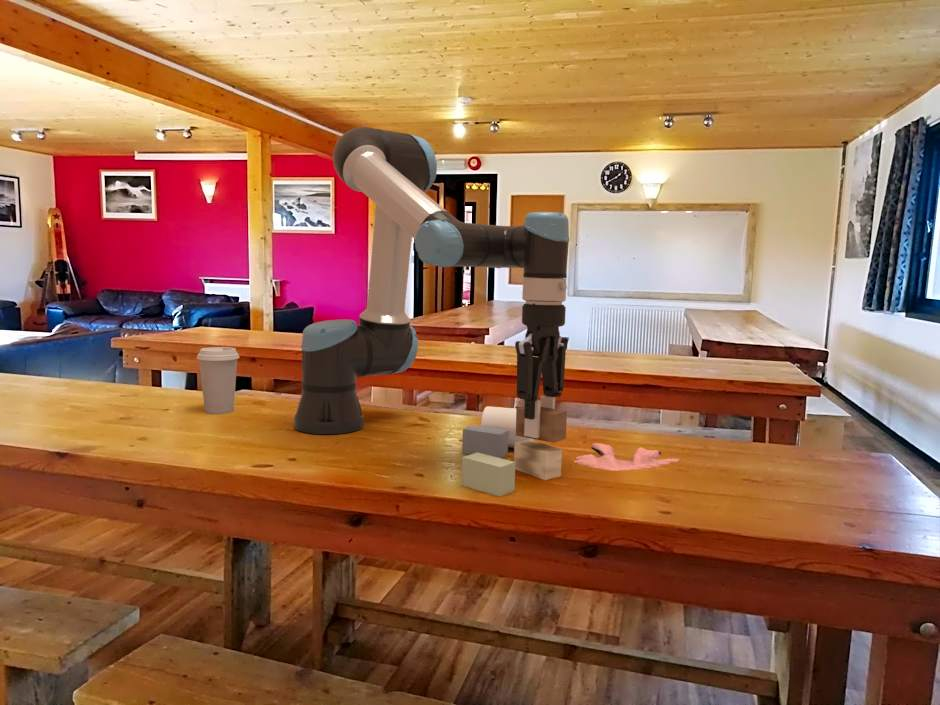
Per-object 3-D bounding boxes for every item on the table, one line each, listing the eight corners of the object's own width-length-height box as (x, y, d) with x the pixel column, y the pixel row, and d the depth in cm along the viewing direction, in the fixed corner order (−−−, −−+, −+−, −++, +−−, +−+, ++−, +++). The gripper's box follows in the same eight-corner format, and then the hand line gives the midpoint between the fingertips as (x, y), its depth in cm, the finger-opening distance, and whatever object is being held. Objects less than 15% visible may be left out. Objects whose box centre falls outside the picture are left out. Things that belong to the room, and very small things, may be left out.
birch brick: (513, 469, 124) (514, 442, 123) (529, 465, 126) (530, 439, 126) (544, 480, 118) (546, 452, 117) (560, 476, 120) (562, 449, 120)
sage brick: (461, 486, 114) (462, 457, 113) (476, 480, 117) (477, 452, 116) (499, 497, 109) (500, 467, 108) (514, 491, 112) (515, 462, 111)
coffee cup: (232, 416, 158) (230, 352, 156) (191, 414, 158) (189, 351, 156) (245, 407, 167) (245, 347, 166) (207, 406, 168) (206, 346, 166)
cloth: (562, 468, 127) (563, 455, 127) (584, 441, 148) (585, 430, 147) (676, 483, 120) (676, 469, 120) (682, 452, 141) (683, 441, 140)
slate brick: (462, 453, 133) (462, 429, 132) (470, 449, 136) (471, 424, 136) (499, 460, 129) (500, 434, 129) (507, 455, 133) (508, 430, 132)
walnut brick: (515, 435, 122) (516, 408, 121) (528, 431, 125) (528, 404, 124) (554, 443, 117) (555, 414, 116) (565, 438, 120) (566, 411, 119)
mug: (528, 454, 134) (530, 414, 133) (479, 449, 136) (480, 410, 135) (537, 439, 145) (539, 402, 144) (492, 435, 148) (493, 399, 147)
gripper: (534, 305, 109) (529, 447, 112) (587, 302, 122) (581, 429, 125) (497, 303, 114) (493, 439, 117) (552, 300, 127) (547, 423, 130)
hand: (539, 433), depth 121 cm, fingers closed on walnut brick, 4 cm apart
